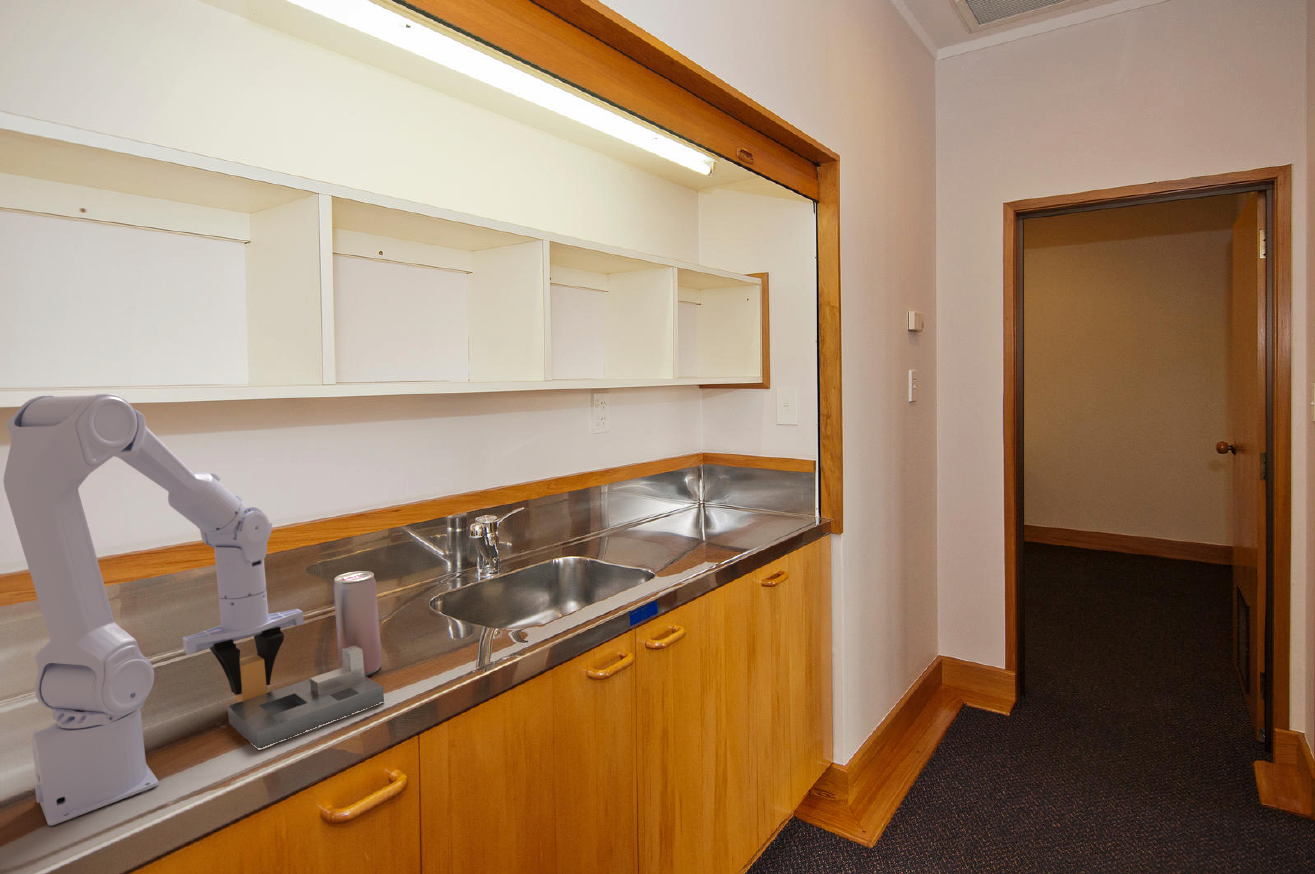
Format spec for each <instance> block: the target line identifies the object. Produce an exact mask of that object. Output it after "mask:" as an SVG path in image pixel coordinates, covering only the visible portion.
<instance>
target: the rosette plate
mask: <svg viewBox="0 0 1315 874" xmlns="http://www.w3.org/2000/svg"><path fill="white" fill-rule="evenodd" d="M380 702H384V703H385V695H384V686H383V685H382V684H380V683H378V682H376V681H375V680H373V679H371V678H369V677H368V676H365V680H362V681H360V682H357V683H354V684H351V685H348V686H345V687H342V688H340V689H337V690H334V691H331V692H328V693H325V694H322V695H320V696H318V695H316V694H315V693H313V692H312V691H311V685H310V678H308V679H306V680H302V681H299V682H296V683H293V684H290V685H287V686H284V687H281V688H277V689H275V690H272V691H269V692H267V693H266V694H262V695H259V696H256V697H253V698H250V699H247V700H244V701H241V702H238V703H237V702H236V703H232V704H230V705H228V706H227V713H228V714H227V715H228V723H229V725H230V726H231V727H233V729H234V730H236V731H237V732H238V733H239V734H240V735H241V736H242V737H243V738H244V739H245V740H246V739H247V740H248V741H249V742H248V741H247V740H246V741H247V742H248V743H249V744H251V743H252V744H253V745H255V746H256V747H257V748H263V747H265V746H268V745H270V744H273V743H276V742H279V741H281V740H284V739H288V738H290V737H293V736H295V735H297V734H300V733H303V732H305V731H306V730H310V729H313V728H315V727H318V726H319V725H323V724H326V723H328V722H331V721H333V720H337V719H340V718H342V717H344V716H348V715H351V714H352V713H355V712H357V711H361V710H363V709H366V708H369V707H371V706H374V705H376V704H379V703H380ZM252 744H251V745H252ZM253 745H252V746H253Z"/></svg>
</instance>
